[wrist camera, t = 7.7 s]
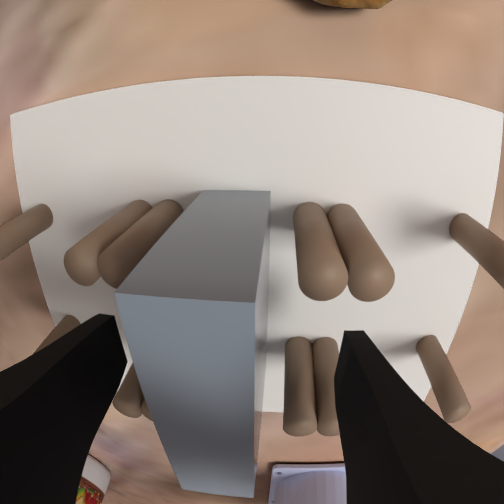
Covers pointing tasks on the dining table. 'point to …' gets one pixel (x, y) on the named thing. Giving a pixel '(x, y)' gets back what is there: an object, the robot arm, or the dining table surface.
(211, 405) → the slate grey rectangular block
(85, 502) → the milk bottle
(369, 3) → the pastry
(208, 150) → the peg rack
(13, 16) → the dining table surface
